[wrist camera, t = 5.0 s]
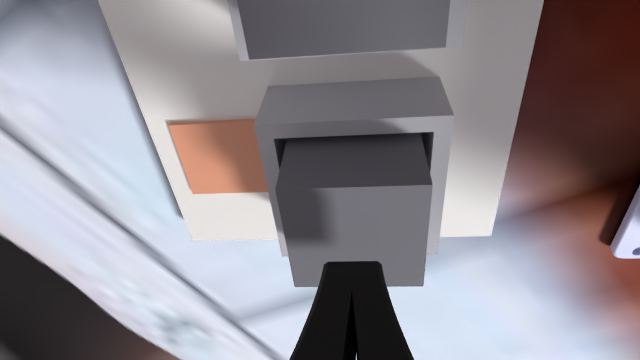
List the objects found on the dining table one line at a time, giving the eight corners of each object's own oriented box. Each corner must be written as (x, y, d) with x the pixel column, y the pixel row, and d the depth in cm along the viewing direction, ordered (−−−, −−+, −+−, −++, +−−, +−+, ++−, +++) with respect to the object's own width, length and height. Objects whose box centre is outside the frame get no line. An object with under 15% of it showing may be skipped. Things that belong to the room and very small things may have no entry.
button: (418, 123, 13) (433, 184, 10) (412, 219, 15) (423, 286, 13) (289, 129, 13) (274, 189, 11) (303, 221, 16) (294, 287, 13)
